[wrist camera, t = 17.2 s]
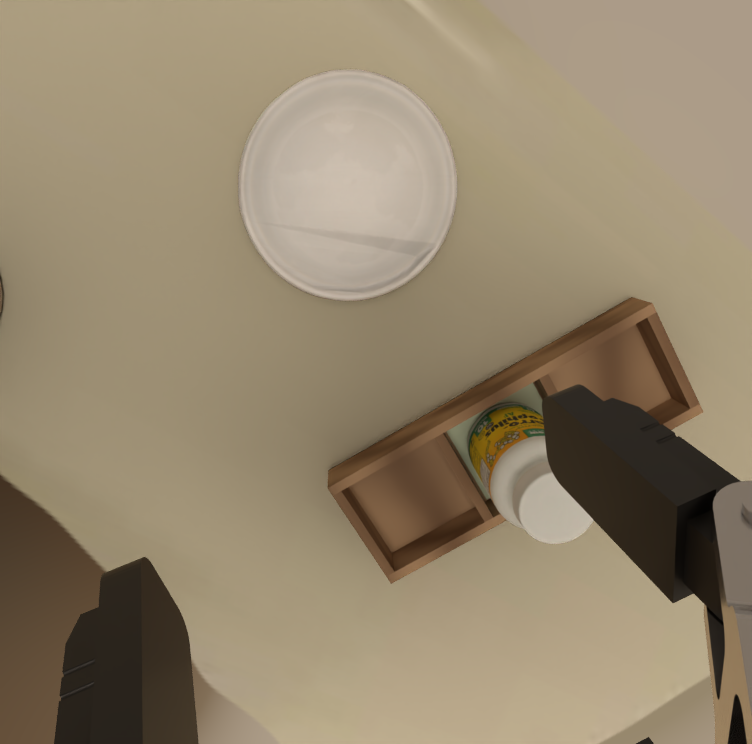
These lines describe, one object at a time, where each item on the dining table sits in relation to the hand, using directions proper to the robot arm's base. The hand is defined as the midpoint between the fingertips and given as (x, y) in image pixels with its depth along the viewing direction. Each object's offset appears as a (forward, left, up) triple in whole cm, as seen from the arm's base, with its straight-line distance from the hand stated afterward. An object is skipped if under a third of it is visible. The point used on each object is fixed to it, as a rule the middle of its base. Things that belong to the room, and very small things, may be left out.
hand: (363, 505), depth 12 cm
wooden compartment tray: (+4, -12, -27) cm, 30 cm away
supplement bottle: (+4, -13, -27) cm, 30 cm away
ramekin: (+3, +6, -27) cm, 28 cm away
